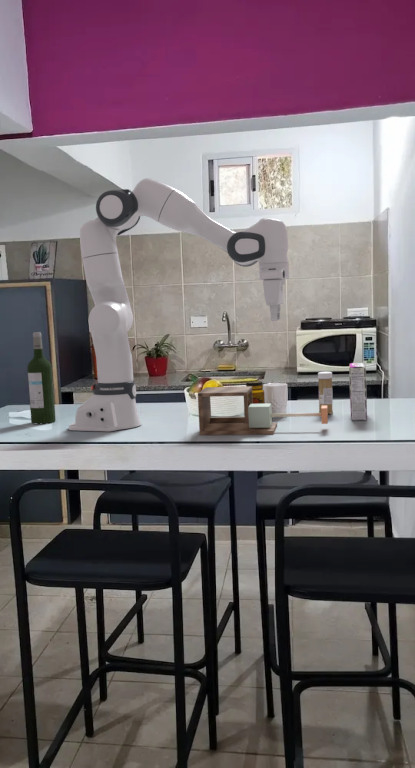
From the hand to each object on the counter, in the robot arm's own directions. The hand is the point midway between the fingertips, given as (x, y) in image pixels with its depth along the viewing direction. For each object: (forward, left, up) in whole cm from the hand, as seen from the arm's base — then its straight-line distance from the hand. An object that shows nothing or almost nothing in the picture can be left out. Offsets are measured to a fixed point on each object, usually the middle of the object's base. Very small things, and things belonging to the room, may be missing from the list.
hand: (275, 320), depth 210 cm
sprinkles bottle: (+14, +14, -31) cm, 37 cm away
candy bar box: (+24, +6, -31) cm, 40 cm away
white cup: (-2, +13, -31) cm, 34 cm away
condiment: (-8, +6, -31) cm, 33 cm away
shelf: (-10, -13, -31) cm, 35 cm away
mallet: (+4, -13, -30) cm, 33 cm away
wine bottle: (-79, +5, -31) cm, 85 cm away
